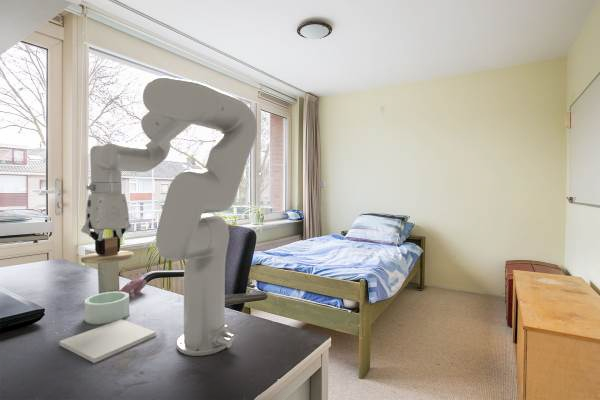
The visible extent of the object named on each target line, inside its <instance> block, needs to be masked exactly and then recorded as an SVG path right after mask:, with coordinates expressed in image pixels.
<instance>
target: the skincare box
mask: <svg viewBox="0 0 600 400" xmlns="http://www.w3.org/2000/svg"><path fill="white" fill-rule="evenodd" d="M119 267H120V266H119V261H117V262H110V263H97V282H98V286H97V287H98V294H100V293H106V292H119V291H120V271H119V269H120V268H119Z"/></svg>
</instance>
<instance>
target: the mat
mask: <svg viewBox="0 0 600 400" xmlns="http://www.w3.org/2000/svg"><path fill="white" fill-rule="evenodd" d="M156 336H157V331H155V330H152V329H150V328H147V327H144V326H141V325H138V324H135V323H133V322H130V321H128V320H124V319H120V320H117V321H115V322H112V323H107V324H102V325H101V326H98V327H96V328H93V329H90V330H87V331H84V332H81V333H79V334H76V335H73V336H70V337H67V338H65V339H62V340H59V347H62V348H64V349H66V350H68V351H70V352H72V353H74V354H75V355H78V356H80V357H81V358H83V359H85V360H88V361H90V362H91V363H93V364H96V363H98V362H101V361H102V360H105V359H107V358H109V357H111V356H113V355H116V354H118V353H121V352H122V351H125V350H127V349H130V348H131V347H133V346H136V345H138V344H141V343H143V342H145V341H147V340H150V339H151V338H152V339H153V338H154V337H156Z"/></svg>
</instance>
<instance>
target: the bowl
mask: <svg viewBox="0 0 600 400" xmlns="http://www.w3.org/2000/svg"><path fill="white" fill-rule="evenodd" d="M83 305H84V321H85V323H86V324H90V325H106V324H109V323H112V322H115V321H117V320H120V319H122V320H124V319H125V318H126V317H128V316H129V315H130V298H129V293H126V292H106V293H100V294H99V293H97V294H93V295H91V296H88V297H86V298H85V299H84V304H83Z"/></svg>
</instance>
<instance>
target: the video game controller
mask: <svg viewBox="0 0 600 400" xmlns="http://www.w3.org/2000/svg"><path fill="white" fill-rule="evenodd" d="M147 283H148V281H147V280H146V279H144V278H142V277H140V278H135V279H132V280H131V281H129V282H127V283H126V284H125V285H124V286H122V288H121V289H119V292H126V293H129V299H130V298H132V297H133V296H134V295H138V294H139V293H140V292H141V291H142V290H143V289H144V288H145V287H146V285H147Z"/></svg>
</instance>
